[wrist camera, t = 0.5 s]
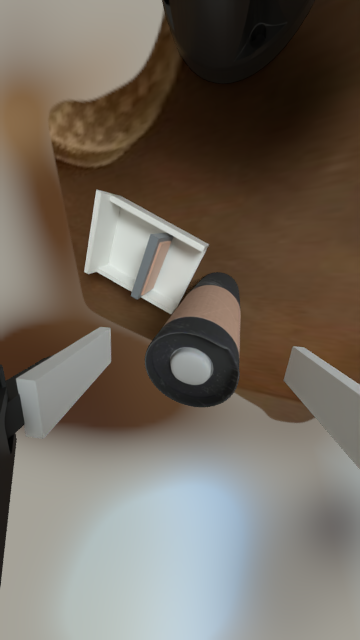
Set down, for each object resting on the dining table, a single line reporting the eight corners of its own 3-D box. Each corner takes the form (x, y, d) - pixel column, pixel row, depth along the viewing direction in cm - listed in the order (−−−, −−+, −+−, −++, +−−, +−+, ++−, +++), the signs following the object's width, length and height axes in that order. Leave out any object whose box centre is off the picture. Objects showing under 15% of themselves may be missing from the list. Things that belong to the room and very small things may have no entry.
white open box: (120, 195, 29) (96, 189, 24) (209, 244, 28) (202, 248, 23) (105, 265, 35) (84, 271, 30) (177, 306, 34) (167, 319, 30)
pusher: (167, 232, 28) (150, 233, 23) (175, 237, 28) (160, 239, 23) (147, 285, 33) (130, 295, 28) (154, 289, 33) (138, 300, 28)
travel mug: (189, 304, 33) (136, 385, 16) (203, 263, 30) (151, 313, 12) (229, 319, 32) (217, 421, 15) (248, 279, 29) (260, 357, 12)
